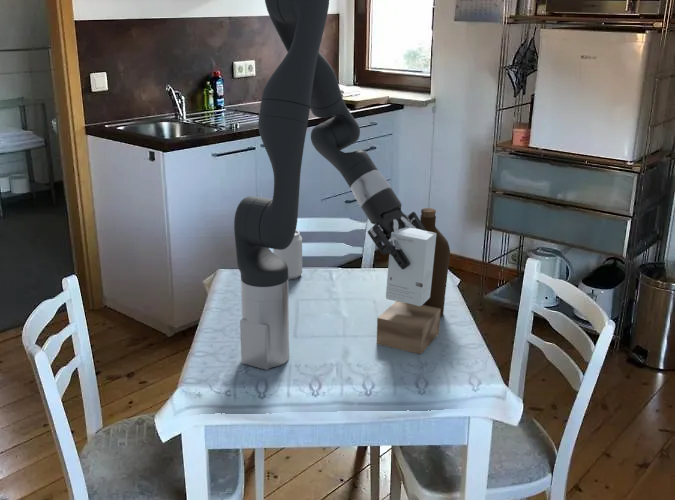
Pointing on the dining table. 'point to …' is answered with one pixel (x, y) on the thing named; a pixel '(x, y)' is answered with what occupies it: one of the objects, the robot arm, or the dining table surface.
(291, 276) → the can
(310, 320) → the dining table surface
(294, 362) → the dining table surface
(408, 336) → the walnut block
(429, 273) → the skincare box
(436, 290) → the olive oil
